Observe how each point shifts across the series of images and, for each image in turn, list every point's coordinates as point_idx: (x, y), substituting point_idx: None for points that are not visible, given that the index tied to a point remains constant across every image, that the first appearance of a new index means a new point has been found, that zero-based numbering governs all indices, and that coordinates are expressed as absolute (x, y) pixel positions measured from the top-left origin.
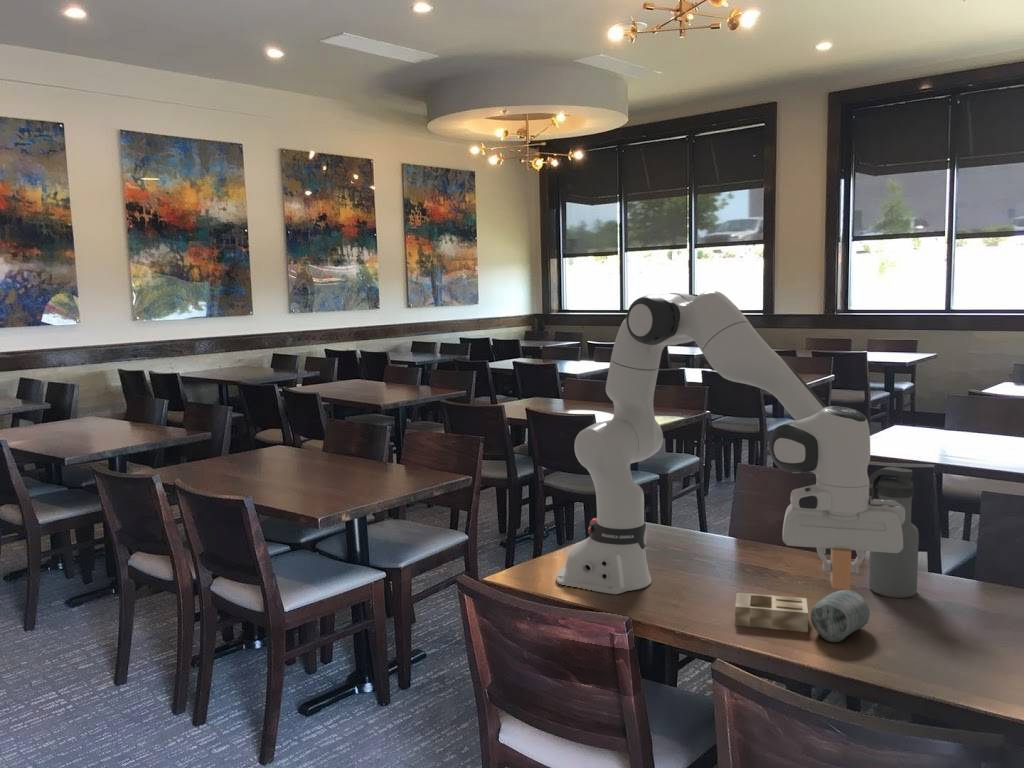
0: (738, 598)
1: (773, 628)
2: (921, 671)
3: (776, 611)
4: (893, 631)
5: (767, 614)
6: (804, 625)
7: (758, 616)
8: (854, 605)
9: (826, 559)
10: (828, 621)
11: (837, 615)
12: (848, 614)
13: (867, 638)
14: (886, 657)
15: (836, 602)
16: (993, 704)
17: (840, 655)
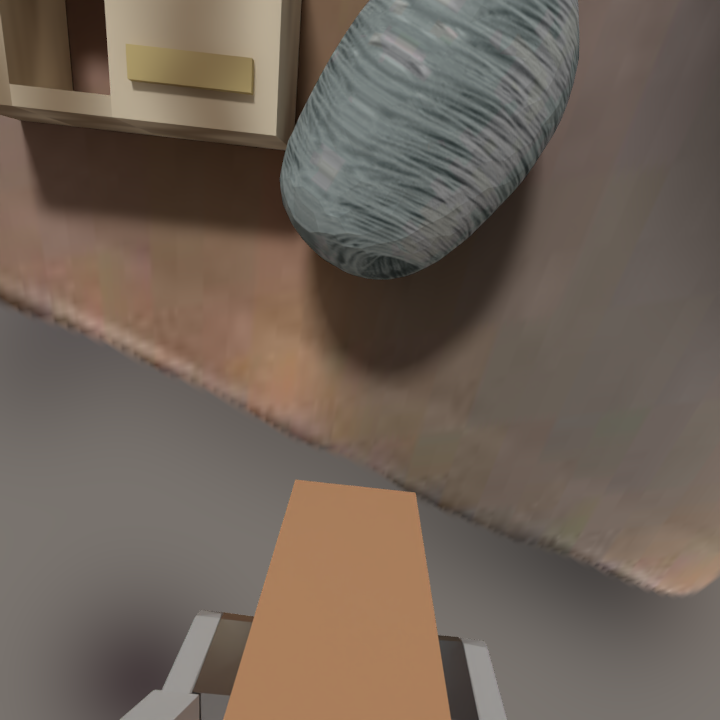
0: None
1: (165, 135)
2: (586, 414)
3: (137, 121)
4: (637, 83)
5: (108, 121)
6: (275, 144)
7: (78, 119)
8: (482, 197)
9: (194, 709)
10: (344, 270)
11: (381, 272)
12: (434, 256)
13: None
14: (518, 333)
15: (388, 218)
16: (681, 558)
17: (375, 338)
